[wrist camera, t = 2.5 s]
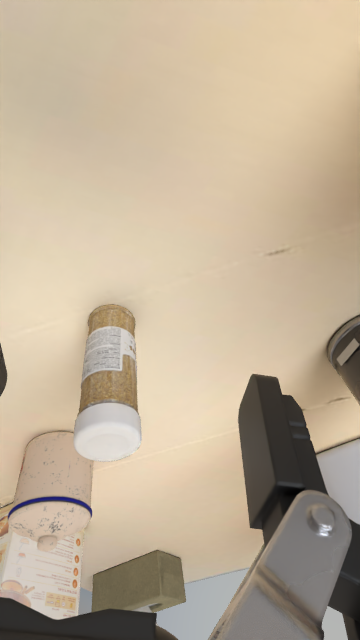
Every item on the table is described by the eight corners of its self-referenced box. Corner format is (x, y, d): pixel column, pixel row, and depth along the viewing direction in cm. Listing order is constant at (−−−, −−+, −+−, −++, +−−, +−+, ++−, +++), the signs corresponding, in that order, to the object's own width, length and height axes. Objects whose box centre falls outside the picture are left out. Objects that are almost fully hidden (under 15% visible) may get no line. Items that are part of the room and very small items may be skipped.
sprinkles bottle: (136, 336, 35) (143, 460, 24) (91, 340, 34) (78, 468, 24) (133, 300, 32) (140, 422, 22) (83, 303, 31) (66, 430, 21)
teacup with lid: (9, 442, 43) (-21, 547, 34) (75, 421, 42) (63, 523, 33) (58, 481, 50) (45, 575, 41) (115, 464, 50) (115, 556, 41)
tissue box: (118, 581, 84) (118, 672, 72) (91, 575, 78) (86, 673, 66) (182, 558, 79) (193, 650, 67) (158, 549, 74) (166, 648, 61)
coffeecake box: (-14, 513, 53) (-65, 696, 38) (20, 497, 52) (-21, 682, 37) (56, 536, 62) (36, 692, 47) (86, 523, 61) (75, 680, 46)
